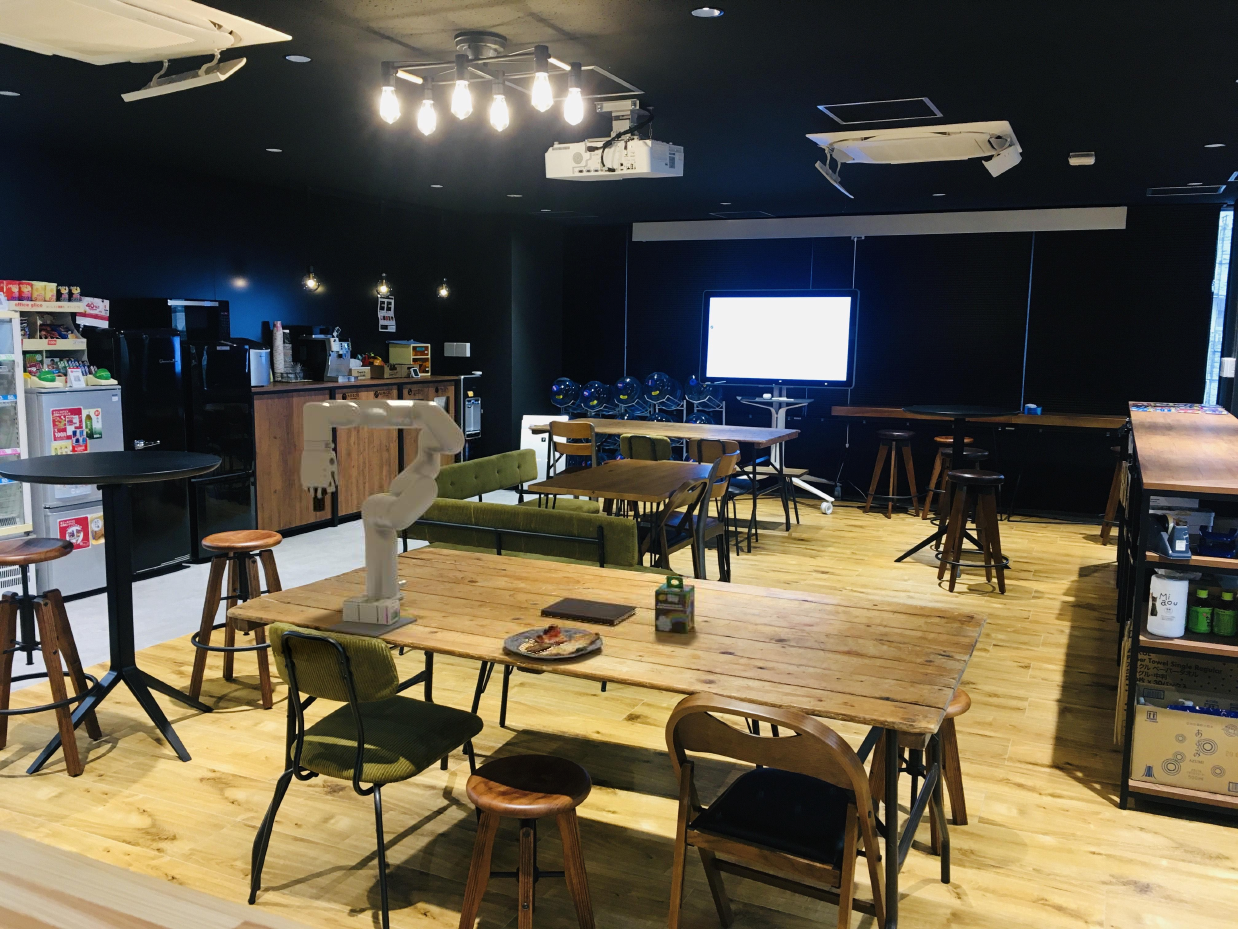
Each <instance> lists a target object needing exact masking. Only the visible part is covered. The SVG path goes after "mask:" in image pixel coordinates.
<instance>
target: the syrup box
mask: <svg viewBox="0 0 1238 929" xmlns="http://www.w3.org/2000/svg"><path fill="white" fill-rule="evenodd" d="M400 616H401V606H400V600H390V599H378V598H367V597H361V596H351V597H349V598H347V599H345V600H343V601H342V621H343V622H344V621H351V622H362V623H374V624H385V625H390V624H392V623H394V622H396V621H397V620H399V619H400Z"/></svg>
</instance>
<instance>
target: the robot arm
mask: <svg viewBox="0 0 1238 929" xmlns="http://www.w3.org/2000/svg"><path fill="white" fill-rule="evenodd" d="M302 412H303V414H302V415H303V418H302V420H303V451H302V454H301V460H300V483H301V485H302V489H303V490H305V491H308V493H310V497H311V498H312V512H314V513H315V512H316V513H320V512H325V511H326V497H328V494H329V493H331V492H335V491H336V486H338V485H339V471H338V462H337V457H336V453H335V451H333V449H334V448H335V444H334V443H333V432H332V428H341V429H342V428H343V429H344V428H345V429H347V428H348V429H349V428H353V427H355V426H356V427H365V428H372V429H421V430H420V431H419V434H418V438H417V455H416V457H415V458H414V460H413V461H412V462H411V463H410V464H409V465H407V467H405V468H404V470H403V471H401V472H400V473H399V474H398V475H396V477H394V479H393V480H392V481H391V482H390V484H389V489H388V492H389V495H388V494H384V493H383V494H382V493H381V494H380V493H377V494H372V495H369V496H368V497H367V498H366V499H365V500H363V503H362V506H361V512H360V513H361V519H362V523H363V530H364V545H365V546H364V548H365V549H364V552H365V553H364V554H365V556H364V558H365V560H364V562H365V565H364V566H365V567H364V568H365V592H362V594H360V597H367V598H378V599H390V600H399V601H401V600H403V598H404V593H403V592H402V591H401V588H404V587H406V586H407V581H406V580H399V550H398V548H399V542H398V541H399V540H398V534H397V531H403V530H404V529H405V530H406V529H407V528H408V527H410V526H411V525H412V524H413V523H415V522H416V521H417V520H418V519H419V518H420V517H421V516H423V514H425V512H426V511H427V510H428V509H429V508H430V507H431V506H432V505H433V504H434V503H435V501H436V500H437V496H438V493H439V488H438V484H437V482H436V480H435V479H436V478H437V477H438V475H439V474H440V471H441V454H443V455H456V454H458V453H460V452H461V451H462V450H463V448H464V446H465V439H466V438H465V435H464V432H463V431H462V430H461V428H460V427H459V426H458V424H457V422H455V421H454V420H453V419H452V418H451V416H450V415H449V413H448V412H447V411H446V410H445V409H444V408H442V406H441V405H439V403H436V402H434V401H428V400H427V401H426V400H417V399H415V400H414V399H413V400H412V399H405V400H404V399H368V400H367V399H366V400H365V399H364V400H362V399H361V400H360V399H359V400H356V399H355V400H349V399H348V400H345V399H344V400H342V399H337V400H336V399H328V400H324V401H321V402H320V401H315V402H313V401H312V402H306V403H305V404H304V405H303V408H302Z"/></svg>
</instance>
